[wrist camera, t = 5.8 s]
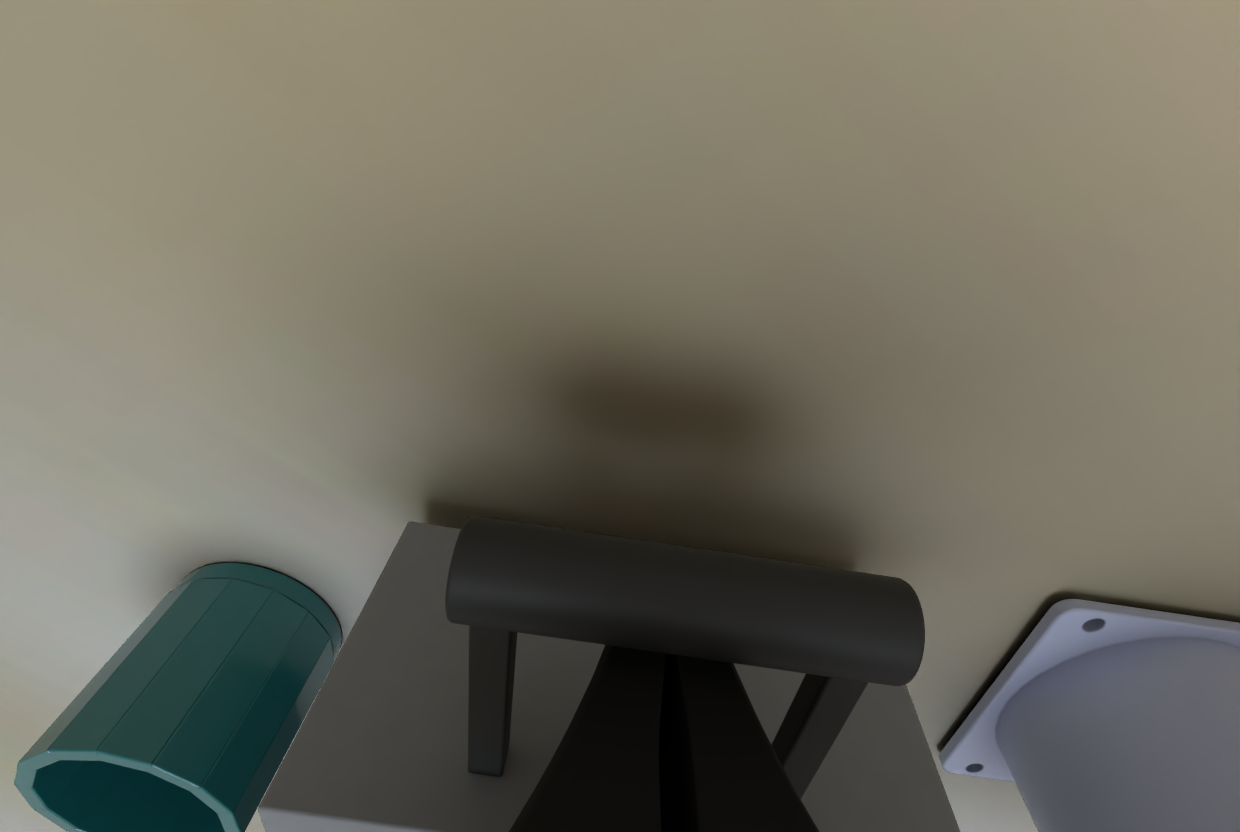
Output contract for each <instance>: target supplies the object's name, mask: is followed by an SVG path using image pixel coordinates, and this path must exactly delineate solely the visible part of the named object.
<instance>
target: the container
mask: <svg viewBox="0 0 1240 832" xmlns="http://www.w3.org/2000/svg"><path fill="white" fill-rule="evenodd" d="M341 641H342V635H341V629H340V625H339V623H338V621H337V619H336V617H335V615H334V614H333V612H332V611H331V609H330V608H329V607H328V606H327V605H326V603H325V602H323V601H322V600H321V599H320V598H319V597H318V596H317V595H316V594H315V593H313V592H312V591H311V590H309V589H308V588H306V587H305V586H303V585H302V584H300V583H299V582H297V581H295V580H293V579H291V578H289V577H287V576H285V575H283V574H280V573H278V572H275V571H272V570H269V569H266V568H262V567H259V566H254V565H249V564H241V563H219V564H212V565H208V566H204V567H201V568H199V569H197V570H195V571H193V572H191V573H190V574H189V575H187V576H186V577H185V578H184V579H183V580H182V581H181V583H180V584H179V585H178V586H177V587H176V588H175V589H174V590H172V591H170V592H169V593H168V594H167V595H166V597H165V598H164V599H163V600H162V601H161V602H160V603H159V604H158V606H157V607H156V608H155V609H154V610H153V611H152V612H151V613H150V615H149V616H148V617H147V618H146V619H145V620H144V621H143V622H142V624H141V625H140V626H139V627H138V628H137V629H136V630H135V631H134V633H133V634H132V635H131V636H130V637H129V638H128V639H127V640H126V642H125V643H124V644H123V645H122V646H121V647H120V648H119V649H118V651H117V652H116V653H115V654H114V655H113V656H112V657H111V658H110V660H109V661H108V662H107V663H106V664H105V665H104V666H103V667H102V669H101V670H100V671H99V672H98V673H97V674H96V675H95V676H94V678H93V679H92V680H91V681H90V682H89V683H88V684H87V685H86V687H85V688H84V689H83V690H82V691H81V692H80V693H79V694H78V696H77V697H76V698H75V699H74V700H73V701H72V702H71V703H70V705H69V706H68V707H67V708H66V709H65V710H64V711H63V712H62V714H61V715H60V716H59V717H58V718H57V719H56V720H55V721H54V723H53V724H52V725H51V726H50V727H49V728H48V729H47V730H46V732H45V733H44V734H43V735H42V736H41V737H40V738H39V739H38V741H37V742H36V743H35V744H34V745H33V746H32V747H31V748H30V750H29V751H28V752H27V753H26V754H25V755H24V756H23V757H22V759H21V760H20V761H19V762H18V766H17V771H16V775H15V780H14V784H15V786H16V787H17V789H18V790H19V791H20V793H21V794H22V795H23V797H24V798H25V799H26V801H27V802H28V803H29V805H30V806H31V807H32V808H33V809H34V810H35V811H37V812H38V813H40V814H41V815H43V816H44V817H46V818H47V819H49V820H50V821H52V822H54V823H55V824H57V825H58V826H60V827H61V828H63V829H64V830H66V831H69V832H245V830H246V828H247V826H248V824H249V823H250V821H251V819H252V817H253V815H254V813H255V811H256V809H257V807H258V806H259V804H260V802H261V800H262V798H263V796H264V794H265V792H266V790H267V788H268V787H269V785H270V783H271V781H272V779H273V777H274V775H275V773H276V771H277V769H278V768H279V766H280V764H281V762H282V760H283V758H284V756H285V754H286V752H287V751H288V749H289V747H290V745H291V743H292V741H293V739H294V737H295V735H296V733H297V732H298V730H299V728H300V726H301V724H302V722H303V720H304V718H305V716H306V714H307V713H308V711H309V709H310V707H311V705H312V703H313V701H314V699H315V697H316V695H317V694H318V692H319V690H320V688H321V686H322V684H323V682H324V680H325V678H326V677H327V675H328V673H329V671H330V669H331V667H332V665H333V663H334V660H335V658H336V656H337V654H338V652H339V649H340V647H341Z"/></svg>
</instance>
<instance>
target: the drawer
mask: <svg viewBox="0 0 1240 832" xmlns="http://www.w3.org/2000/svg"><path fill="white" fill-rule="evenodd" d="M924 642H925V627H924V618H923V612H922V608H921V605H920V602H919V599H918V597H917V595H916V593H915V591H914V590H913V588H912V587H911V586H910V585H909V584H908V583H907V582H906V581H904V580H902V579H900V578H896V577H889V576H882V575H875V574H869V573H862V572H855V571H848V570H841V569H834V568H827V567H821V566H814V565H807V564H800V563H793V562H786V561H780V560H773V559H766V558H759V557H752V556H745V555H739V554H732V553H725V552H718V551H711V550H704V549H697V548H691V547H684V546H677V545H670V544H663V543H656V542H650V541H643V540H636V539H629V538H622V537H615V536H609V535H602V534H595V533H588V532H581V531H574V530H567V529H561V528H554V527H547V526H540V525H533V524H526V523H520V522H513V521H506V520H499V519H492V518H485V517H479V516H472V517H469V518H468V519H467V520H466V521H465V523H464V525H463V526H462V528H461V529H458V528H451V527H444V526H438V525H431V524H424V523H417V522H408V524H407V526H406V528H405V530H404V531H403V533H402V535H401V537H400V539H399V541H398V543H397V545H396V547H395V549H394V550H393V552H392V554H391V556H390V558H389V560H388V562H387V564H386V566H385V568H384V569H383V571H382V573H381V575H380V577H379V579H378V581H377V583H376V585H375V587H374V588H373V590H372V592H371V594H370V596H369V598H368V600H367V602H366V604H365V606H364V607H363V609H362V611H361V613H360V615H359V617H358V619H357V621H356V623H355V625H354V626H353V628H352V630H351V632H350V634H349V636H348V638H347V640H346V642H345V644H344V645H343V647H342V649H341V651H340V653H339V655H338V657H337V659H336V661H335V663H334V664H333V666H332V668H331V670H330V672H329V674H328V676H327V678H326V680H325V682H324V683H323V685H322V687H321V689H320V691H319V693H318V695H317V697H316V699H315V701H314V702H313V704H312V706H311V708H310V710H309V712H308V714H307V716H306V718H305V720H304V722H303V723H302V725H301V727H300V729H299V731H298V733H297V735H296V737H295V739H294V741H293V742H292V744H291V746H290V748H289V750H288V752H287V754H286V756H285V758H284V760H283V761H282V763H281V765H280V767H279V769H278V771H277V773H276V775H275V777H274V779H273V780H272V782H271V784H270V786H269V788H268V790H267V792H266V794H265V796H264V798H263V799H262V801H261V803H260V805H259V808H258V812H259V814H260V817H261V820H262V823H263V826H264V828H265V831H266V832H509V831H510V829H511V827H512V826H513V824H514V822H515V821H516V819H517V817H518V816H519V814H520V812H521V811H522V809H523V807H524V806H525V804H526V802H527V801H528V799H529V797H530V796H531V794H532V792H533V791H534V789H535V787H536V786H537V784H538V782H539V780H540V779H541V777H542V775H543V773H544V772H545V770H546V768H547V766H548V764H549V763H550V761H551V759H552V757H553V755H554V754H555V752H556V750H557V748H558V746H559V744H560V742H561V740H562V738H563V737H564V735H565V733H566V731H567V729H568V727H569V725H570V723H571V721H572V719H573V717H574V715H575V713H576V710H577V708H578V706H579V704H580V702H581V700H582V698H583V696H584V694H585V692H586V689H587V687H588V685H589V683H590V681H591V679H592V676H593V674H594V672H595V669H596V667H597V664H598V662H599V659H600V657H601V654H602V652H603V649H604V647H605V645H610V646H617V647H624V648H631V649H638V650H645V651H652V652H659V653H666V654H673V655H680V656H687V657H694V658H701V659H708V660H715V661H722V662H729V663H734V665H735V668H736V670H737V672H738V675H739V677H740V679H741V681H742V684H743V686H744V688H745V690H746V693H747V695H748V697H749V699H750V702H751V704H752V706H753V708H754V710H755V713H756V715H757V717H758V719H759V721H760V723H761V725H762V727H763V729H764V731H765V733H766V735H767V737H768V739H769V741H770V743H771V745H772V747H773V749H774V751H775V753H776V755H777V757H778V759H779V761H780V763H781V765H782V766H783V768H784V770H785V772H786V774H787V776H788V778H789V779H790V781H791V783H792V785H793V787H794V789H795V790H796V792H797V794H798V796H799V797H800V799H801V801H802V803H803V804H804V806H805V808H806V809H807V811H808V813H809V815H810V816H811V818H812V820H813V821H814V823H815V825H816V827H817V828H818V830H819V832H960V830H959V827H958V824H957V822H956V819H955V816H954V814H953V811H952V808H951V805H950V803H949V800H948V797H947V795H946V792H945V789H944V787H943V784H942V781H941V778H940V776H939V773H938V770H937V768H936V765H935V762H934V760H933V757H932V754H931V751H930V749H929V746H928V743H927V741H926V738H925V735H924V733H923V730H922V727H921V724H920V722H919V719H918V716H917V714H916V711H915V708H914V705H913V703H912V700H911V697H910V695H909V692H908V689H907V687H906V684H907V683H909V682H910V681H911V680H912V679H913V678H914V676H915V675H916V673H917V671H918V669H919V667H920V664H921V660H922V656H923V651H924Z"/></svg>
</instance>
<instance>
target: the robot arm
mask: <svg viewBox="0 0 1240 832" xmlns="http://www.w3.org/2000/svg"><path fill="white" fill-rule="evenodd" d="M939 758H940V761H941V763H942V766H943V768H944V769H945V770H946V771H948V772H951V773H955V774H962V775H970V776H977V777H984V778H991V779H998V780H1005V781H1012V782H1015V783H1016V785H1017V787H1018V789H1019V791H1020V793H1021V795H1022V798H1023V800H1024V802H1025V804H1026V806H1027V808H1028V810H1029V812H1030V815H1031V817H1032V819H1033V821H1034V823H1035V825H1036V827H1037V830H1038V832H1240V623H1237V622H1230V621H1224V620H1217V619H1210V618H1203V617H1196V616H1189V615H1183V614H1176V613H1169V612H1162V611H1155V610H1148V609H1142V608H1135V607H1128V606H1121V605H1114V604H1107V603H1101V602H1094V601H1087V600H1080V599H1066V600H1062V601H1059V602H1057V603H1055V604H1054V605H1053V606H1052V607H1051V608H1050V609H1049V610H1048V611H1047V613H1046V614H1045V615H1044V617H1043V618H1042V619H1041V621H1040V622H1039V623H1038V624H1037V626H1036V627H1035V628H1034V630H1033V631H1032V632H1031V634H1030V635H1029V636H1028V638H1027V639H1026V640H1025V642H1024V643H1023V644H1022V646H1021V647H1020V648H1019V650H1018V651H1017V652H1016V653H1015V655H1014V656H1013V657H1012V659H1011V660H1010V661H1009V663H1008V664H1007V665H1006V667H1005V668H1004V669H1003V671H1002V672H1001V673H1000V675H999V676H998V677H997V679H996V680H995V681H994V682H993V684H992V685H991V686H990V688H989V689H988V690H987V692H986V693H985V694H984V696H983V697H982V698H981V700H980V701H979V702H978V704H977V705H976V706H975V708H974V709H973V710H972V711H971V713H970V714H969V715H968V717H967V718H966V719H965V721H964V722H963V723H962V725H961V726H960V727H959V729H958V730H957V731H956V733H955V734H954V735H953V737H952V738H951V739H950V740H949V742H948V743H947V744H946V746H945V747H944V748H943V750H942V751H941V752H940V755H939ZM509 832H819V830H818V828H817V827H816V825H815V823H814V821H813V820H812V818H811V816H810V815H809V813H808V811H807V809H806V808H805V806H804V804H803V803H802V801H801V799H800V797H799V796H798V794H797V792H796V790H795V789H794V787H793V785H792V783H791V781H790V779H789V778H788V776H787V774H786V772H785V770H784V768H783V766H782V765H781V763H780V761H779V759H778V757H777V755H776V753H775V751H774V749H773V747H772V745H771V743H770V741H769V739H768V737H767V735H766V733H765V731H764V729H763V727H762V725H761V723H760V721H759V719H758V717H757V715H756V713H755V710H754V708H753V706H752V704H751V702H750V699H749V697H748V695H747V693H746V690H745V688H744V686H743V684H742V681H741V679H740V677H739V675H738V672H737V670H736V668H735V665H734V663H729V662H722V661H715V660H708V659H701V658H694V657H687V656H680V655H673V654H666V653H659V652H652V651H645V650H638V649H631V648H624V647H617V646H610V645H605V647H604V649H603V652H602V654H601V657H600V659H599V662H598V664H597V667H596V669H595V672H594V674H593V676H592V679H591V681H590V683H589V685H588V687H587V689H586V692H585V694H584V696H583V698H582V700H581V702H580V704H579V706H578V708H577V710H576V713H575V715H574V717H573V719H572V721H571V723H570V725H569V727H568V729H567V731H566V733H565V735H564V737H563V738H562V740H561V742H560V744H559V746H558V748H557V750H556V752H555V754H554V755H553V757H552V759H551V761H550V763H549V764H548V766H547V768H546V770H545V772H544V773H543V775H542V777H541V779H540V780H539V782H538V784H537V786H536V787H535V789H534V791H533V792H532V794H531V796H530V797H529V799H528V801H527V802H526V804H525V806H524V807H523V809H522V811H521V812H520V814H519V816H518V817H517V819H516V821H515V822H514V824H513V826H512V827H511V829H510V831H509Z"/></svg>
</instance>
